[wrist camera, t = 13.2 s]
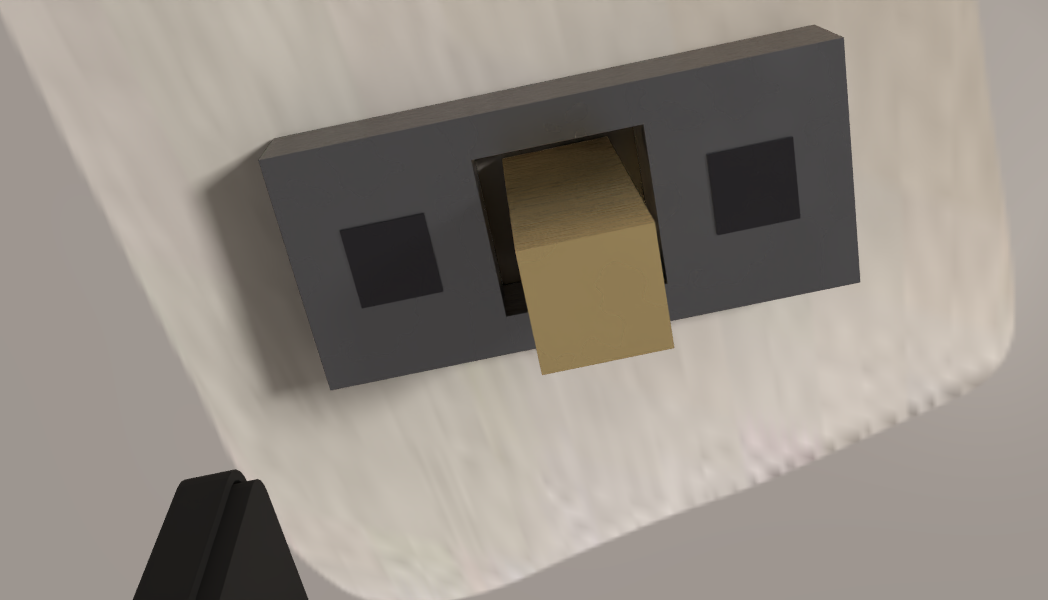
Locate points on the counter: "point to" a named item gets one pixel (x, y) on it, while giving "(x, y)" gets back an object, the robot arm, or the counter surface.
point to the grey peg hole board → (553, 116)
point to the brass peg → (586, 256)
